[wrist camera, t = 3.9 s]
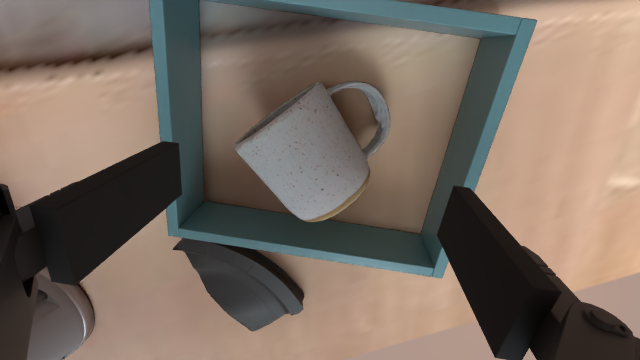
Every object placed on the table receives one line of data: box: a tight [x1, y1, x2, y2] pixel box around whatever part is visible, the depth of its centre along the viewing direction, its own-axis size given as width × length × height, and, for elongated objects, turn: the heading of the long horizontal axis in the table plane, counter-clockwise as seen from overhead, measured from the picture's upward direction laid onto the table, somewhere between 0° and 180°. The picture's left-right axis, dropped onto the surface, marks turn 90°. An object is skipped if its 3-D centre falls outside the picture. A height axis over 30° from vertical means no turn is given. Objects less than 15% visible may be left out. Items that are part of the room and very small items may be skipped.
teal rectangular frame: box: [149, 0, 537, 278], centre depth 23 cm, size 23×19×5 cm
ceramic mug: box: [234, 81, 390, 222], centre depth 22 cm, size 11×8×8 cm
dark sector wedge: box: [173, 238, 304, 331], centre depth 32 cm, size 8×14×2 cm, turn 37°
